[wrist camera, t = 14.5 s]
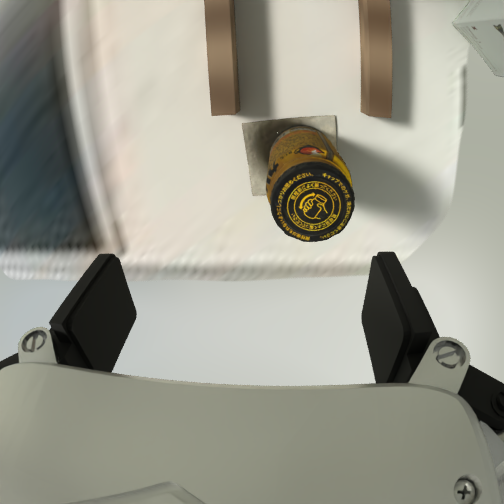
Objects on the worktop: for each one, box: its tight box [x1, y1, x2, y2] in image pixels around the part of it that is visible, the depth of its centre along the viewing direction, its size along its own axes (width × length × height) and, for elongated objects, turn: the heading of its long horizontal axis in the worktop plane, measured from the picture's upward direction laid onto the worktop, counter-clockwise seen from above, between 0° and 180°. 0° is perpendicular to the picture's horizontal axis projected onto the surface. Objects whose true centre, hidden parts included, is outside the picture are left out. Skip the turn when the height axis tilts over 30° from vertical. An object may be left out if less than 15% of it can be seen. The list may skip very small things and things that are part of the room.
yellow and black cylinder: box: [242, 115, 355, 242], centre depth 24 cm, size 7×8×12 cm
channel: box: [204, 0, 392, 118], centre depth 21 cm, size 18×15×3 cm
